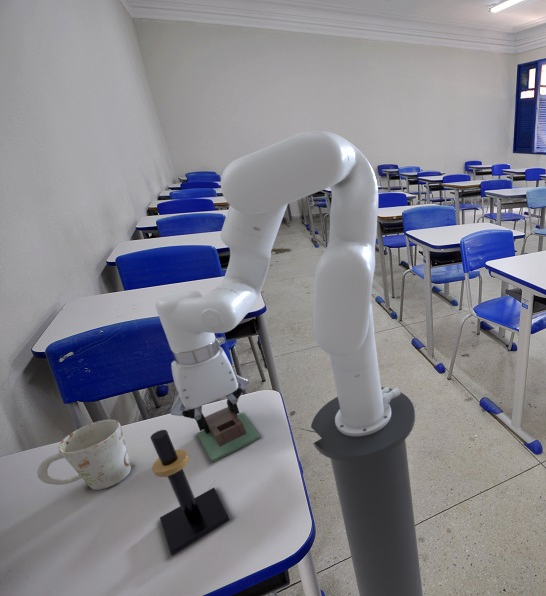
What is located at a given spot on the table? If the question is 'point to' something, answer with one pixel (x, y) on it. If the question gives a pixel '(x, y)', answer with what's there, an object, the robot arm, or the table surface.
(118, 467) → the mug
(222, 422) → the brown block with hole
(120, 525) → the table surface
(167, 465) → the hanging post
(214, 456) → the mat
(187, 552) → the table surface
